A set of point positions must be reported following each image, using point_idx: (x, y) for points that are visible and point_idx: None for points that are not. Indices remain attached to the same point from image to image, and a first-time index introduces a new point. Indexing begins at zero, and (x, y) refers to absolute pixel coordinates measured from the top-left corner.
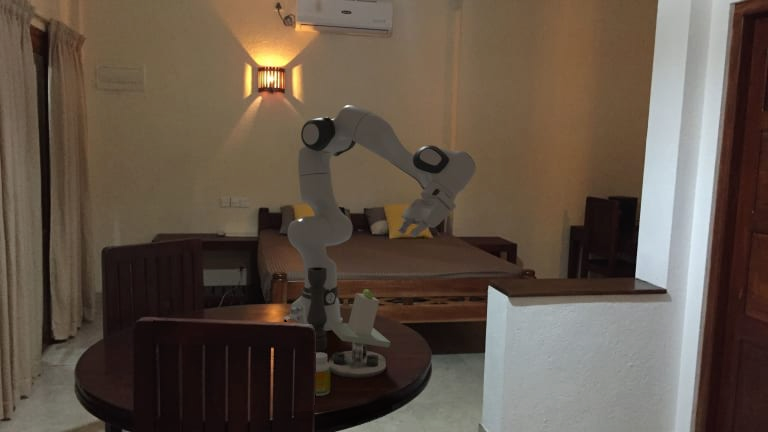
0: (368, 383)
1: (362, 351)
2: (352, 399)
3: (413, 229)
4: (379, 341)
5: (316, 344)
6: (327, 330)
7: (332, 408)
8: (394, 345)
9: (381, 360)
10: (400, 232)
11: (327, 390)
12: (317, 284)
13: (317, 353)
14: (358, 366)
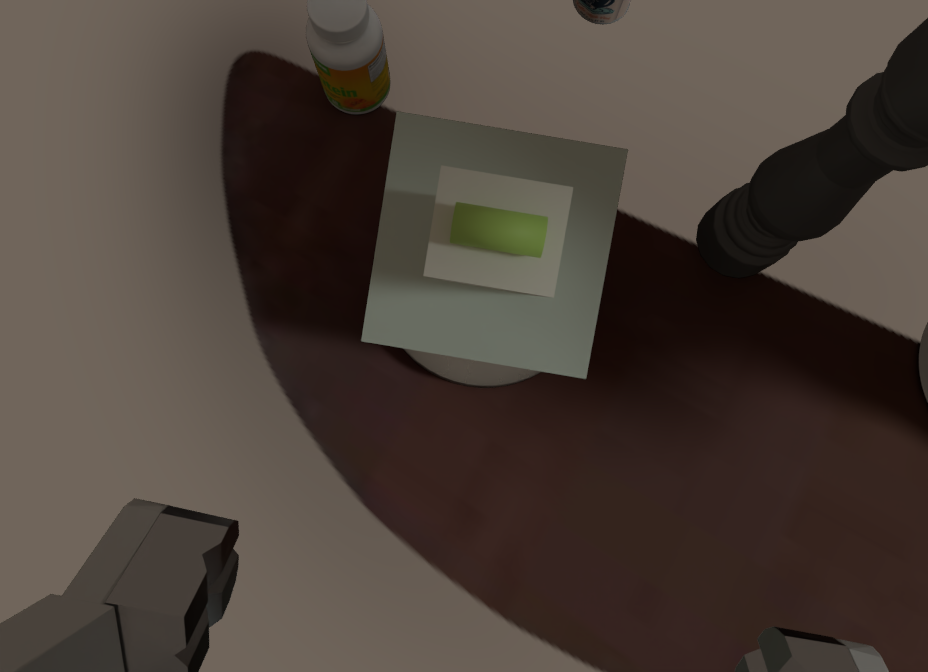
0: (335, 247)
1: None
2: (255, 146)
3: (153, 589)
4: (369, 287)
5: (711, 212)
6: (919, 363)
7: (234, 71)
8: (630, 540)
9: (437, 355)
10: (774, 643)
11: (324, 90)
12: (882, 80)
13: (355, 4)
14: None
